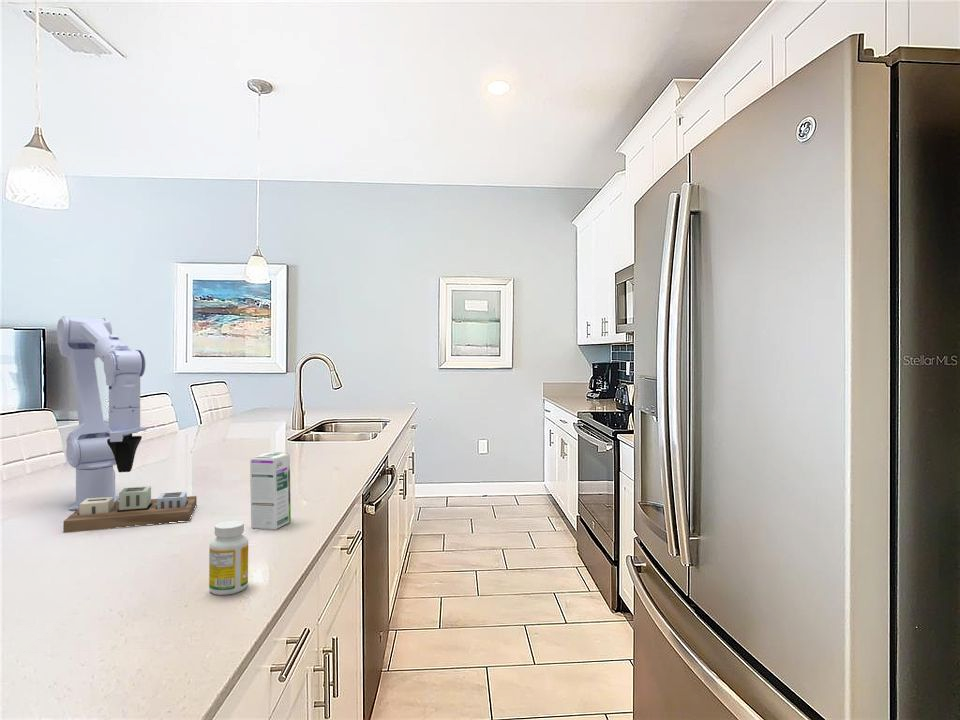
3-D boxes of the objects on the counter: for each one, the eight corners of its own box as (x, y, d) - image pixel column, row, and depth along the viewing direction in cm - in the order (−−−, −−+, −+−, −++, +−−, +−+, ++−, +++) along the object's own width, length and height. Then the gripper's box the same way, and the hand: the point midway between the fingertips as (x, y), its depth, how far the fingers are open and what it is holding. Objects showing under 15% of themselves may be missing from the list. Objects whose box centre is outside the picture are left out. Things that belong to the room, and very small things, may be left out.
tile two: (124, 504, 126) (124, 487, 126) (151, 502, 127) (151, 485, 127) (118, 510, 121) (118, 492, 121) (146, 508, 122) (146, 490, 122)
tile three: (161, 509, 128) (161, 492, 128) (186, 507, 130) (186, 491, 130) (157, 515, 123) (157, 498, 123) (183, 513, 125) (183, 496, 125)
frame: (84, 513, 127) (84, 503, 127) (196, 505, 134) (196, 495, 134) (63, 532, 114) (63, 521, 114) (188, 521, 121) (188, 511, 121)
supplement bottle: (219, 599, 83) (219, 531, 83) (202, 589, 87) (202, 524, 87) (255, 587, 87) (255, 523, 87) (237, 578, 91) (237, 517, 91)
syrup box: (276, 530, 116) (276, 457, 116) (249, 528, 117) (249, 456, 117) (291, 522, 121) (291, 452, 121) (265, 520, 123) (265, 451, 123)
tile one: (86, 515, 123) (86, 497, 123) (113, 512, 125) (113, 495, 125) (79, 521, 118) (79, 503, 118) (107, 519, 120) (107, 501, 120)
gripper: (138, 409, 118) (138, 476, 118) (153, 404, 131) (153, 464, 131) (97, 410, 115) (98, 479, 115) (117, 404, 129) (117, 466, 129)
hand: (124, 471), depth 123 cm, fingers closed
